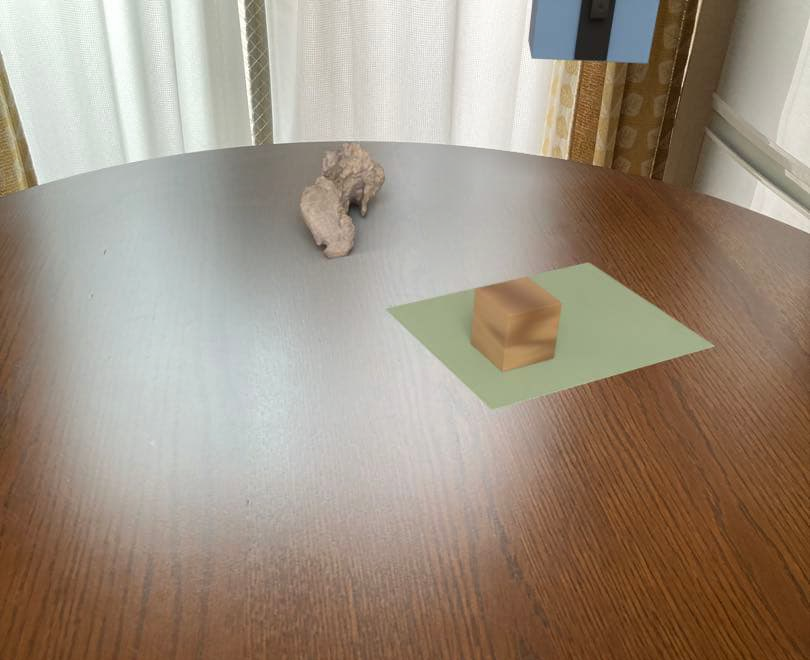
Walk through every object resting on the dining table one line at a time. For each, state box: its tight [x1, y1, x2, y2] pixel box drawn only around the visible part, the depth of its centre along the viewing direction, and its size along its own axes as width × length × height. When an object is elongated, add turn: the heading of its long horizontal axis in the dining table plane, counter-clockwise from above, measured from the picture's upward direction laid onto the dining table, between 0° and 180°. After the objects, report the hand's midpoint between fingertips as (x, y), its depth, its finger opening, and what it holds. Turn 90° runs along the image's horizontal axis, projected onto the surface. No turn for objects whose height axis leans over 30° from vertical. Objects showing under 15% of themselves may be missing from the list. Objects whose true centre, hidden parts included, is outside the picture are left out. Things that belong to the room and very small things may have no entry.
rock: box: [299, 141, 386, 260], centre depth 85 cm, size 6×14×7 cm, turn 165°
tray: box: [384, 261, 716, 411], centre depth 72 cm, size 20×16×1 cm
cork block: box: [471, 276, 562, 372], centre depth 67 cm, size 4×4×4 cm
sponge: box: [527, 0, 661, 64], centre depth 79 cm, size 10×6×6 cm, turn 87°
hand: (586, 48), depth 81 cm, fingers closed on sponge, 6 cm apart
